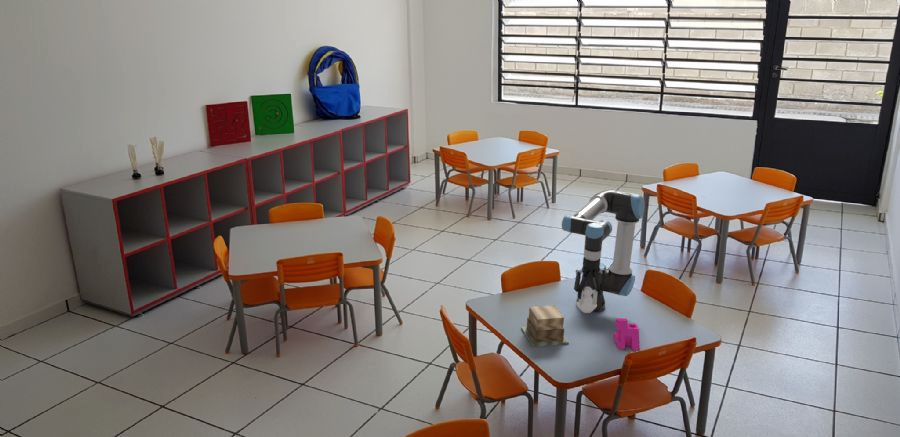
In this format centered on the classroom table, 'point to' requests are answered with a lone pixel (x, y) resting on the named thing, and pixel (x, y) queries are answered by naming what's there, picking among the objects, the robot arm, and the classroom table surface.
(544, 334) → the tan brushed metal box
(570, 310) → the classroom table surface
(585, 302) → the seated beast figurine
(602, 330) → the classroom table surface
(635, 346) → the bracket
